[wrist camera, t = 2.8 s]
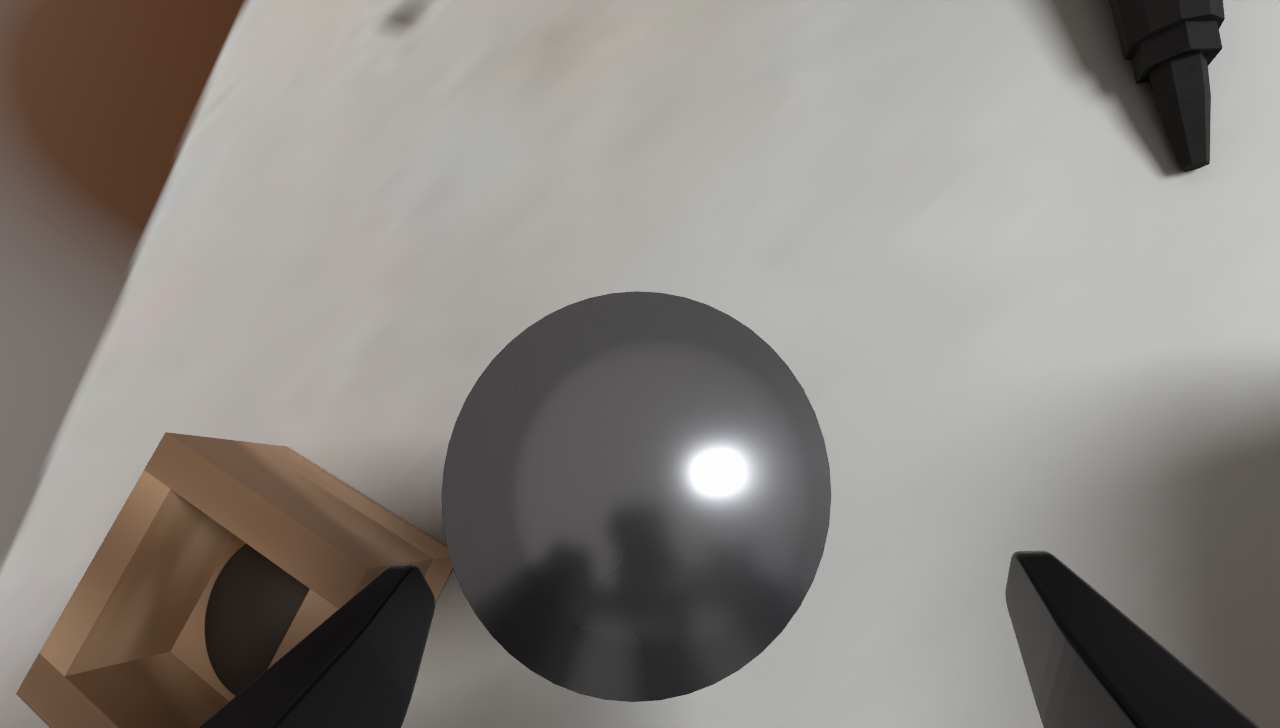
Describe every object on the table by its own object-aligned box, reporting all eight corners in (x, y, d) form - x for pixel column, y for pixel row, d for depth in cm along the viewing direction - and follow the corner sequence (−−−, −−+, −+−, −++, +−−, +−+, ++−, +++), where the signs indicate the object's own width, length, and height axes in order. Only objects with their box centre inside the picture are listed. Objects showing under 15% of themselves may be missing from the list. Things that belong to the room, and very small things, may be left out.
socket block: (337, 795, 19) (203, 881, 14) (172, 655, 21) (15, 693, 17) (459, 555, 19) (367, 568, 15) (286, 446, 22) (165, 432, 18)
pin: (767, 595, 17) (718, 796, 5) (643, 528, 18) (378, 568, 6) (824, 465, 18) (899, 382, 6) (700, 408, 19) (548, 241, 7)
